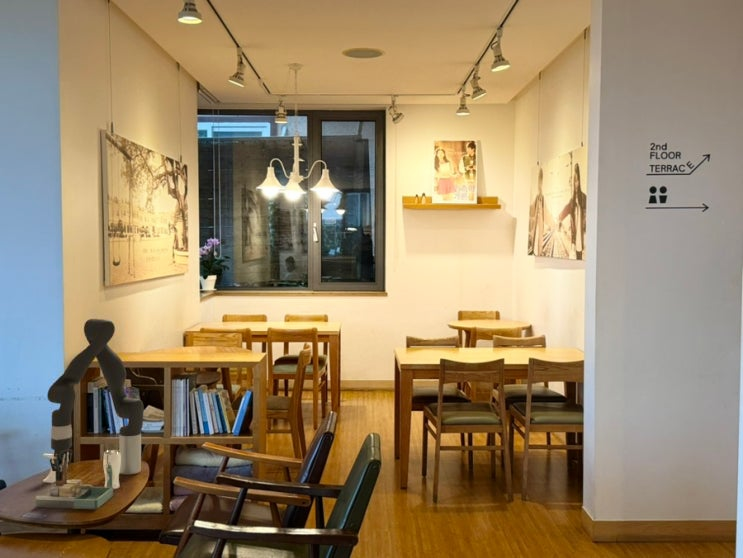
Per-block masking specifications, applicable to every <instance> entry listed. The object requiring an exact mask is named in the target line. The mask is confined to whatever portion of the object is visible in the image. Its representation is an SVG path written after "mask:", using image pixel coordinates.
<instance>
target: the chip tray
mask: <svg viewBox="0 0 743 558" xmlns="http://www.w3.org/2000/svg"><path fill="white" fill-rule="evenodd" d="M113 497H114V489H113V487H104V486H92V487H91V495H90V496H88V497H87V498H86V499H74V510H77V509H78V510H95V511H96V510H98V509H100V507H102V506H103V505H104V504H105V503H107V502H108V501H109V500H111V499H112V498H113Z"/></svg>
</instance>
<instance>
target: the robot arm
mask: <svg viewBox="0 0 743 558" xmlns="http://www.w3.org/2000/svg"><path fill="white" fill-rule="evenodd" d="M115 330H116V328H115V324H114V322H113V321H112V320H109V319H104V318H103V319H102V318H90V319H88V320H86V321H85V323H84V326H83V332H84V336H85V339H86V341H87V342H88V343H89V344H88V346H87V347H86V348H85V349H83V350H81V351H80V352H79V353H78V354H77V355H75V357H74V358H72V359H71V361H70V363H68V365H67V367H66V369H65V370H64V372H63V374H62V375H61V376H59V377H58V379H57V380H55V382H53V383H52V385H51V386H50V387H49V389H48V391H47V395H46V397H47V400H48V401H49V402H50V403H52V404H59V408H58V409H54V410H53V411H52V413H51V429H50V448H51V450H54V452H53V454H54V457H53V459H50V458H49V464H50V467H51V468H52V471H56V481H61V480H62V466H63V465H64V461H66V462H67V469H68V467H69V466H70V465H71V461H72V457H73V450H72V449H70V448H72V446H73V441H72V440H73V439H72V437H73V428H72V413H73V408H74V405H75V401H76V397H77V396H76V391H75V389H74V388H73V386H75V385H78V384H80V382H81V380H82V379H83V377H84V376H85V373H86V372H87V370H88V368H89V367H90V366H91V364H92V362H94V361H95V359H96V361H97V362H98V365H99V367H100V370H101V374H102V375H103V379H104V380H105V382H106V386H107V388H108V391H109V394H110V395H111V400H112V404H113V408H114V412H115V414H116V415H117V417H119V418H120V419H126V420H128V422H127V424H126V425H123V426H121V427H120V428H119V443H118V444H119V447H118V448H119V449H118V450H119V451H121V468H120V473H119V475H127V476H128V475H129V476H130V475H135V474H139V473H140V472H141V471H142V428H143V425H144V424H143V423H144V409H145V407H144V403H143V401H142V400H141V399H140V398H135V397H134V398H133V397H128V396H127V394H126V392H125V388H124V386H125V383H126V380H127V371H126V367H125V365H124V363H123V360H122V359H121V357H120V356H119V355H118V354H117V353H116V352H115V350H113V349H112V348H111V347H110V346H109V345H108V343H110V341H111V339H112V338H113V336H114V333H115ZM58 462H60V463H58ZM59 466H60V468H59ZM51 468H50V469H51ZM56 481H55V482H56Z"/></svg>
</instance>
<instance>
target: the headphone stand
mask: <svg viewBox="0 0 743 558" xmlns="http://www.w3.org/2000/svg"><path fill="white" fill-rule="evenodd" d="M42 456H43V457H46V458H47V457H48V458H49V460H50V459H53V457H54V453H53V454H52V453H43V454H42ZM49 471H50V472H49V473H48V475H47V476H46V477H45V479H43V480H42V481H43V483H50V484H53V483H56V471H52V468H50V470H49Z"/></svg>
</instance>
